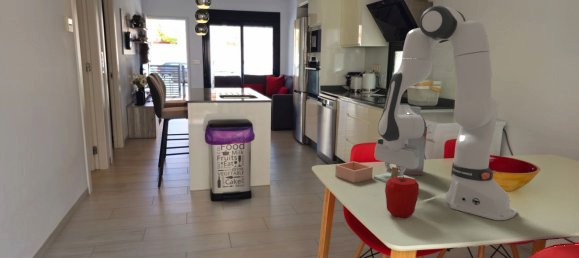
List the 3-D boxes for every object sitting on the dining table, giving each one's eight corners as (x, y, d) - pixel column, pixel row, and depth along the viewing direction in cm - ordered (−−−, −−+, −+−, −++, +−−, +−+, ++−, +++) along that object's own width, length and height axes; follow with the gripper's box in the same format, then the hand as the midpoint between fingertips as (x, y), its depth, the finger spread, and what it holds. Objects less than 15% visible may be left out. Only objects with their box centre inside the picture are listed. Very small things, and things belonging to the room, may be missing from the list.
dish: (372, 179, 160) (372, 167, 159) (353, 184, 154) (354, 171, 153) (353, 173, 169) (353, 161, 168) (335, 177, 162) (335, 165, 161)
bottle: (425, 176, 166) (431, 109, 160) (401, 176, 166) (406, 108, 160) (415, 167, 180) (420, 105, 175) (393, 167, 180) (398, 104, 175)
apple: (408, 208, 129) (411, 170, 127) (422, 221, 119) (426, 180, 117) (378, 209, 128) (381, 171, 125) (390, 222, 118) (393, 181, 115)
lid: (415, 180, 158) (416, 169, 157) (397, 186, 151) (397, 174, 150) (391, 173, 167) (392, 162, 166) (373, 178, 160) (374, 167, 159)
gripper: (423, 146, 150) (420, 179, 152) (382, 137, 166) (380, 167, 168) (413, 148, 146) (411, 182, 148) (373, 138, 162) (371, 169, 164)
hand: (394, 174), depth 158 cm, fingers open, 4 cm apart
